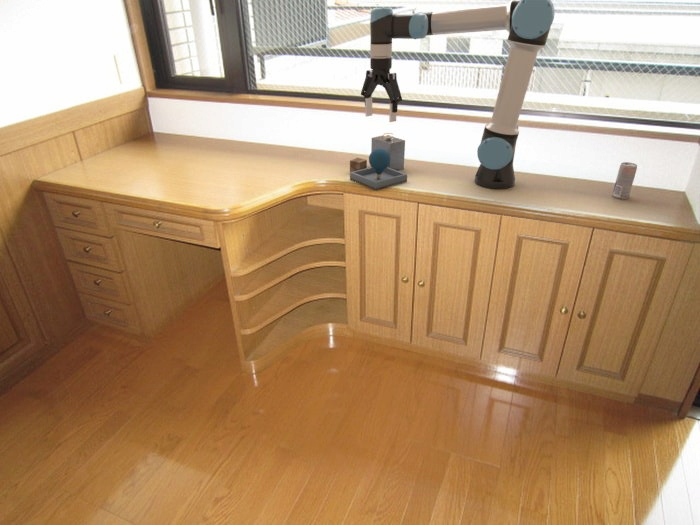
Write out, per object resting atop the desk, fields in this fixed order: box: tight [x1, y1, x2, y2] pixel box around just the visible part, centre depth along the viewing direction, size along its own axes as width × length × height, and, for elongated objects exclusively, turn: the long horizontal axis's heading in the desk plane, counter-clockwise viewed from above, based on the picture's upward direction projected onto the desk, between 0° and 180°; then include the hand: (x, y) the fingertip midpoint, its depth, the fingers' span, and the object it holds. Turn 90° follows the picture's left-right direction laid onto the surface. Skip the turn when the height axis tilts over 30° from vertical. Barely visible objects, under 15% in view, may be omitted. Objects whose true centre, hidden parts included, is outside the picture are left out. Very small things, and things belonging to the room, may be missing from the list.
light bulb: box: [368, 148, 390, 179], centre depth 190 cm, size 8×8×12 cm
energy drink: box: [612, 161, 638, 200], centre depth 174 cm, size 5×5×12 cm
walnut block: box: [349, 157, 368, 173], centre depth 203 cm, size 5×5×5 cm
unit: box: [370, 132, 406, 171], centre depth 206 cm, size 12×8×14 cm, turn 38°
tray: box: [349, 166, 408, 191], centre depth 193 cm, size 16×16×3 cm
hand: (380, 118), depth 182 cm, fingers open, 13 cm apart
